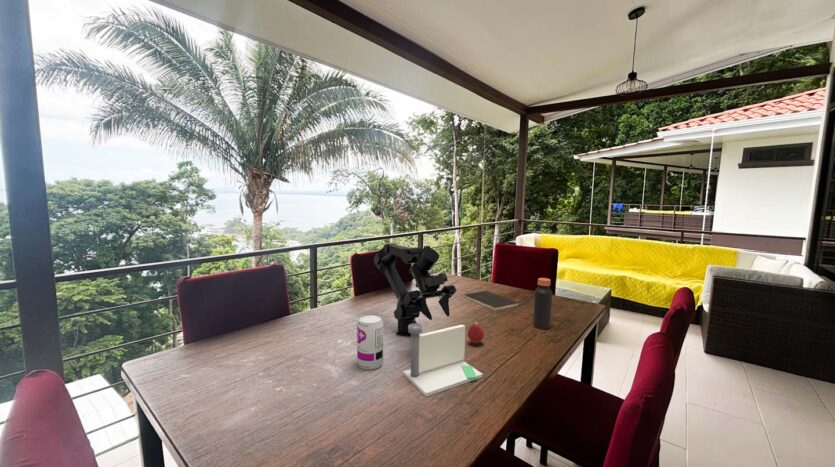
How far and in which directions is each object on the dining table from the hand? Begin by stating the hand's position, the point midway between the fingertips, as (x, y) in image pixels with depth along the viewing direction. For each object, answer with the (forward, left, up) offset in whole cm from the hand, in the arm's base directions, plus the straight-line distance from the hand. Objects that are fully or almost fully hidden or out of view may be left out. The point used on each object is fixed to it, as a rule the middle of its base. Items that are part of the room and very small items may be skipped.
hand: (440, 317), depth 113 cm
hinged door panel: (+2, -10, -12) cm, 16 cm away
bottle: (+33, +40, -14) cm, 54 cm away
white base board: (+5, -12, -13) cm, 18 cm away
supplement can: (-19, -13, -14) cm, 27 cm away
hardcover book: (+9, +66, -14) cm, 68 cm away
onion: (+10, +14, -14) cm, 22 cm away
